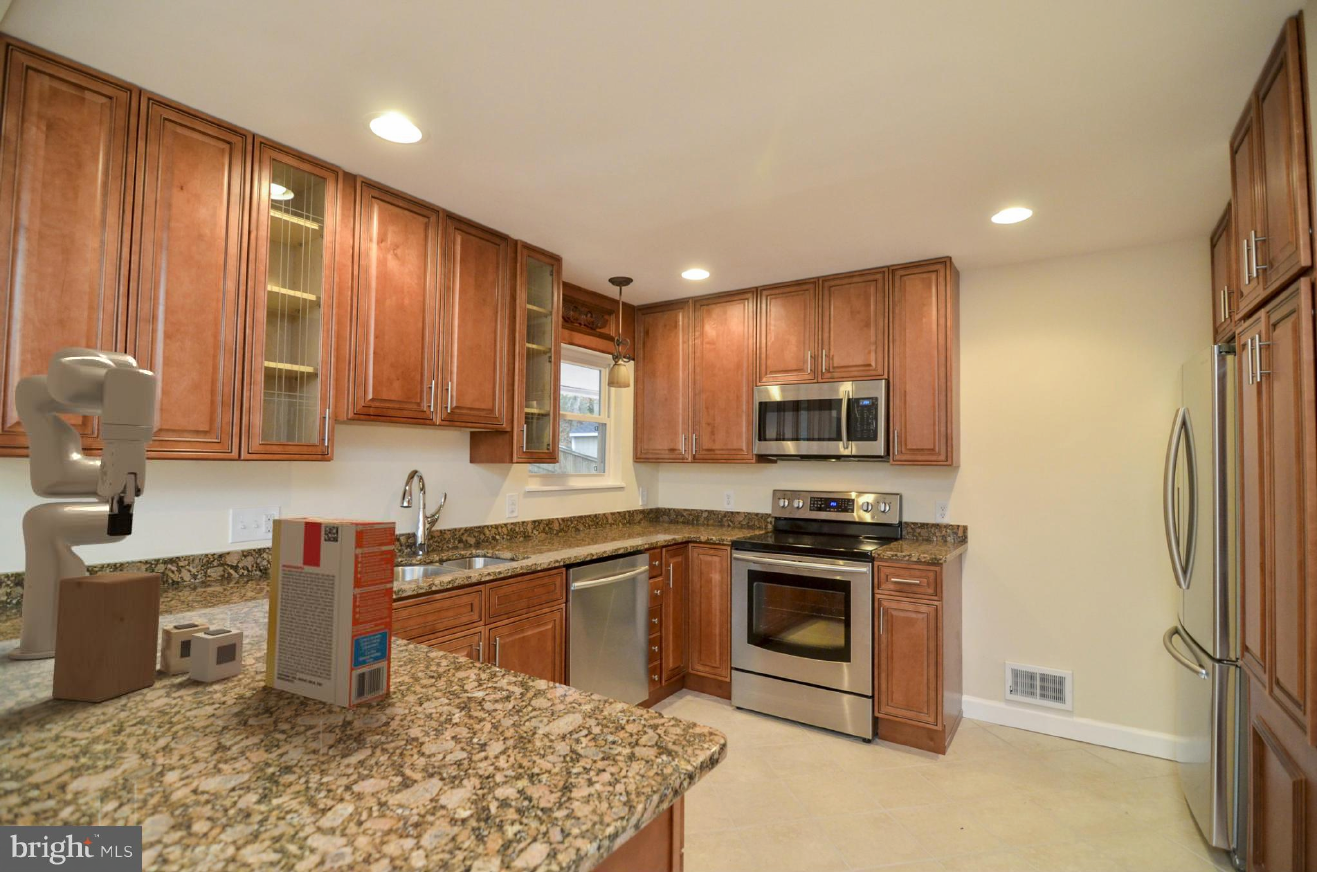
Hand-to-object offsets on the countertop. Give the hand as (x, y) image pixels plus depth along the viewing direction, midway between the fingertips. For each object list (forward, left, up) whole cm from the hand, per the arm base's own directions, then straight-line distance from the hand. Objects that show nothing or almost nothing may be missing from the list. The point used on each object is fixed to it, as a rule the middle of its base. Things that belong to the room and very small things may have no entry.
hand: (119, 535), depth 115 cm
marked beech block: (-1, +12, -27) cm, 29 cm away
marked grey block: (+9, +14, -27) cm, 31 cm away
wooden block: (+4, -1, -27) cm, 27 cm away
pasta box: (+33, +23, -27) cm, 48 cm away
